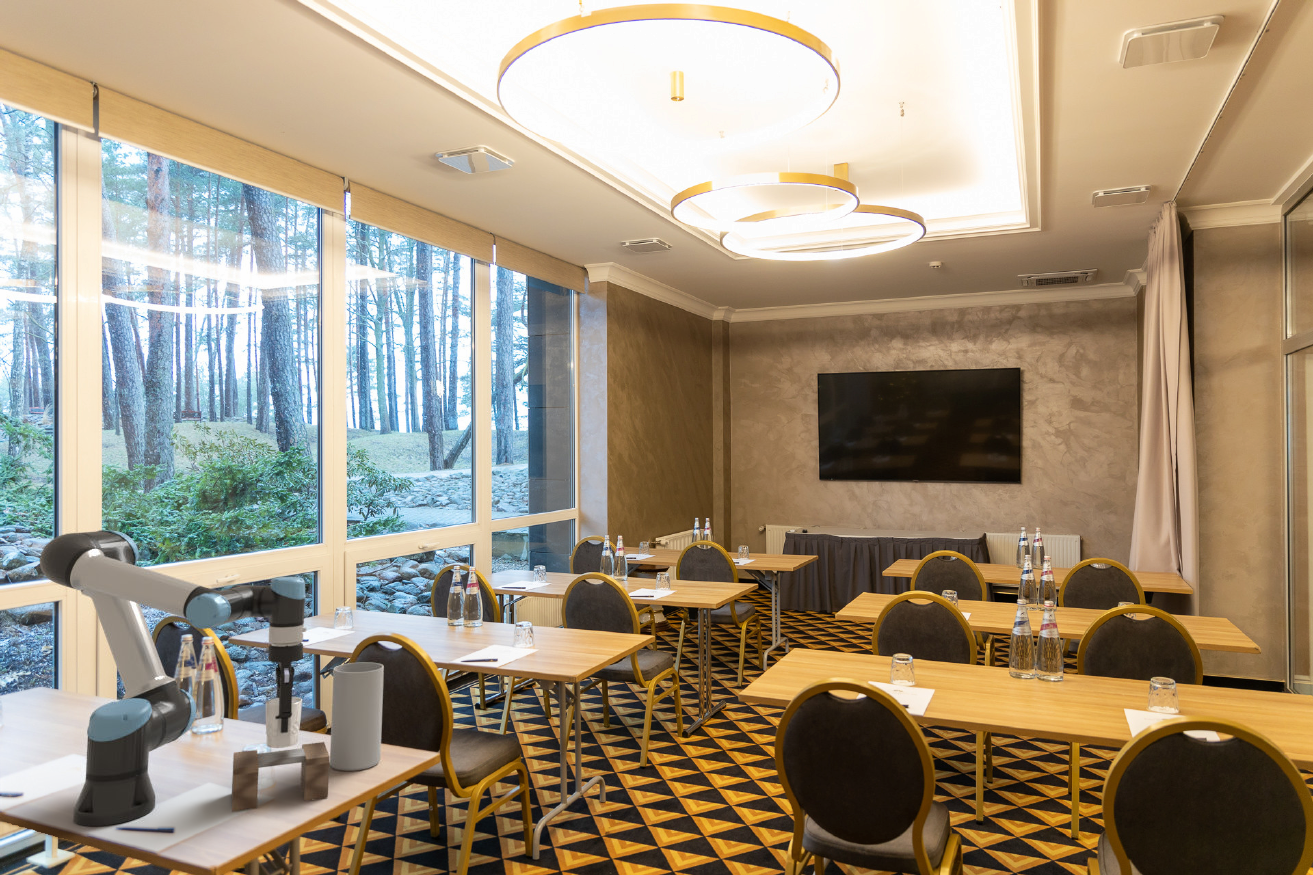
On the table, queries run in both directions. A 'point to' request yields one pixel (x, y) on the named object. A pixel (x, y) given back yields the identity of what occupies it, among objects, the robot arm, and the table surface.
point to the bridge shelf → (307, 776)
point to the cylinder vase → (356, 716)
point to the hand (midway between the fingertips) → (282, 740)
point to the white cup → (272, 723)
